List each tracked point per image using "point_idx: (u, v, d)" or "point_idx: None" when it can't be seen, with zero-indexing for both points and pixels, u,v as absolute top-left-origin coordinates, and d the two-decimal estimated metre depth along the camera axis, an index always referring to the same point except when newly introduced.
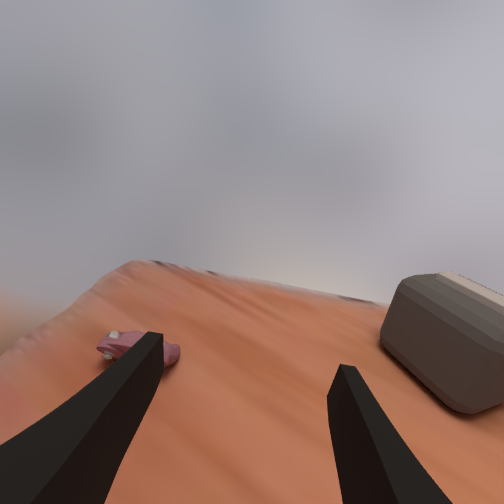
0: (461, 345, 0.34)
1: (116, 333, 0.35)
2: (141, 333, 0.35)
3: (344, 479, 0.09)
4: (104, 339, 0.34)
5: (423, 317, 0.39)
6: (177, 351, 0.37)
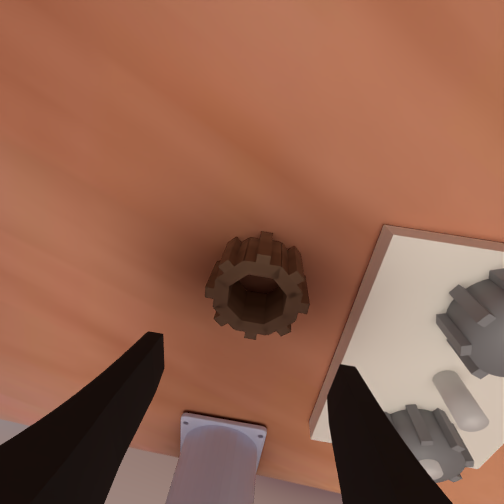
0: None
1: None
2: None
3: (344, 479, 0.09)
4: None
5: None
6: None
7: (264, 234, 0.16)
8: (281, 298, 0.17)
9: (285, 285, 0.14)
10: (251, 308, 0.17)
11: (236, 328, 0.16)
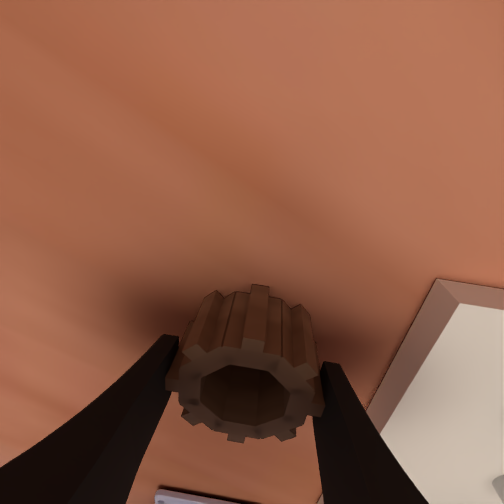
0: None
1: None
2: None
3: (325, 475, 0.09)
4: None
5: None
6: None
7: (256, 289, 0.11)
8: None
9: (288, 380, 0.09)
10: (238, 393, 0.12)
11: (215, 429, 0.11)
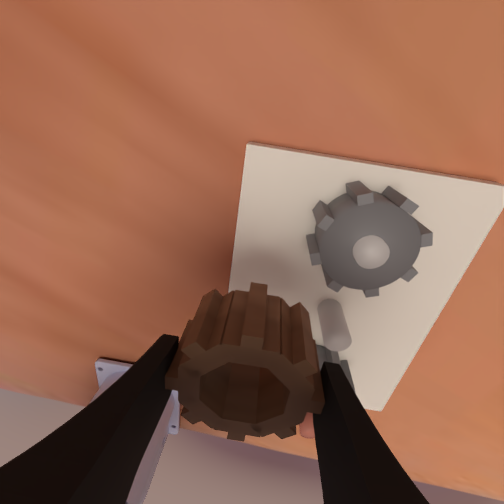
0: None
1: None
2: None
3: (325, 475, 0.09)
4: None
5: None
6: None
7: (255, 287, 0.11)
8: None
9: (287, 377, 0.09)
10: (238, 391, 0.12)
11: (215, 427, 0.11)
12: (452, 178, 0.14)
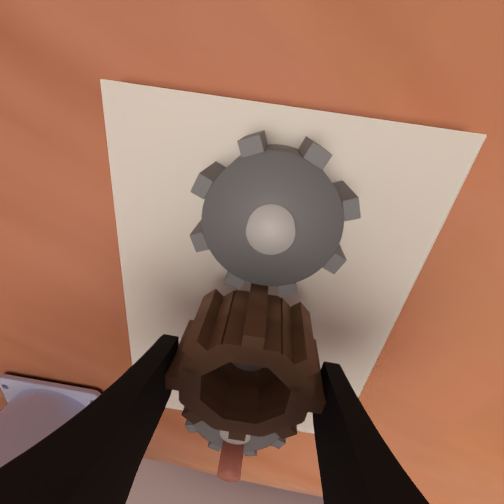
0: None
1: None
2: None
3: (325, 475, 0.09)
4: None
5: None
6: None
7: (256, 287, 0.11)
8: None
9: (288, 377, 0.09)
10: (238, 391, 0.12)
11: (216, 427, 0.11)
12: (395, 122, 0.10)
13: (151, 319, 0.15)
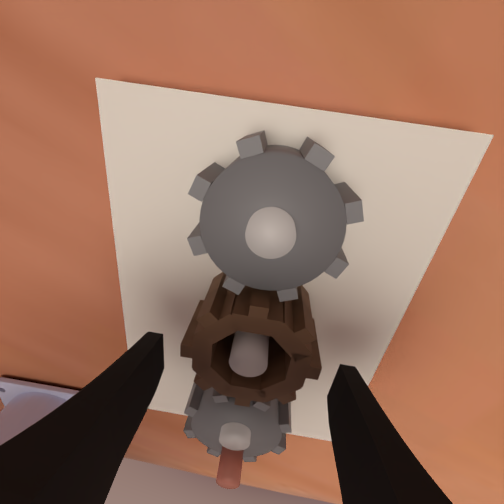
0: None
1: None
2: None
3: (344, 479, 0.09)
4: None
5: None
6: None
7: None
8: (283, 351, 0.13)
9: (289, 345, 0.10)
10: None
11: (224, 394, 0.12)
12: (399, 122, 0.09)
13: (149, 322, 0.15)
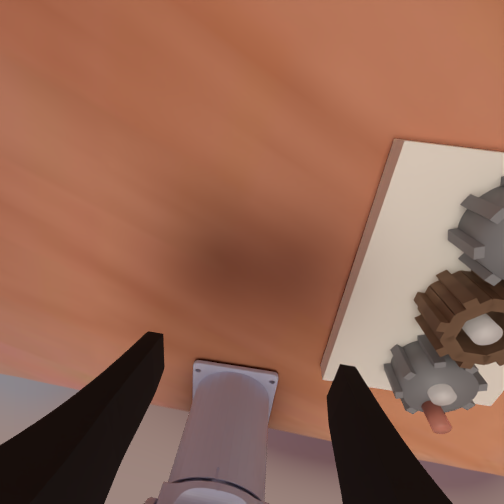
0: None
1: None
2: None
3: (344, 479, 0.09)
4: None
5: None
6: None
7: None
8: None
9: None
10: (460, 338, 0.17)
11: (455, 359, 0.17)
12: None
13: (366, 310, 0.19)
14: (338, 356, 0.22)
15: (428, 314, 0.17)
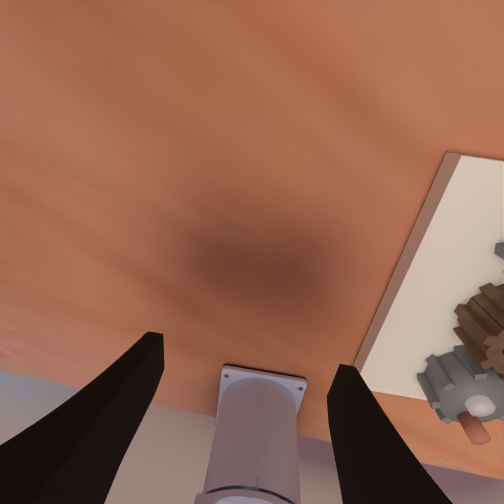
0: None
1: None
2: None
3: (344, 479, 0.09)
4: None
5: None
6: None
7: None
8: None
9: None
10: (501, 350, 0.18)
11: (499, 371, 0.17)
12: None
13: (405, 320, 0.19)
14: (372, 365, 0.22)
15: (473, 327, 0.17)
